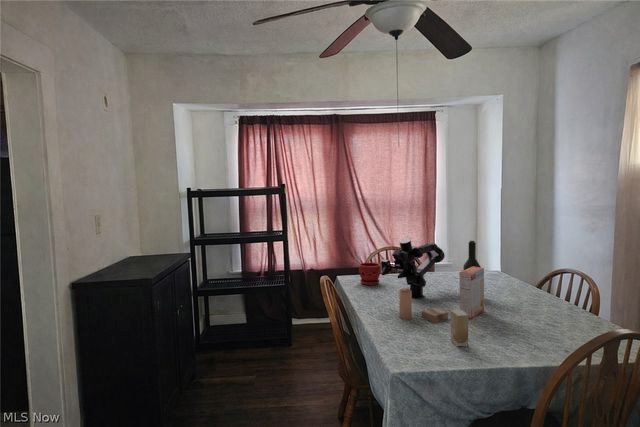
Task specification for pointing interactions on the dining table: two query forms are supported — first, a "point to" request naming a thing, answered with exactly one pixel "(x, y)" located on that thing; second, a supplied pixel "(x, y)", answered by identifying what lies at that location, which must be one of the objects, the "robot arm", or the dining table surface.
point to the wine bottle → (471, 256)
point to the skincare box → (459, 327)
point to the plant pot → (369, 273)
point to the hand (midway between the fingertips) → (389, 276)
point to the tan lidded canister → (405, 304)
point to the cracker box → (472, 291)
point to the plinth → (434, 315)
